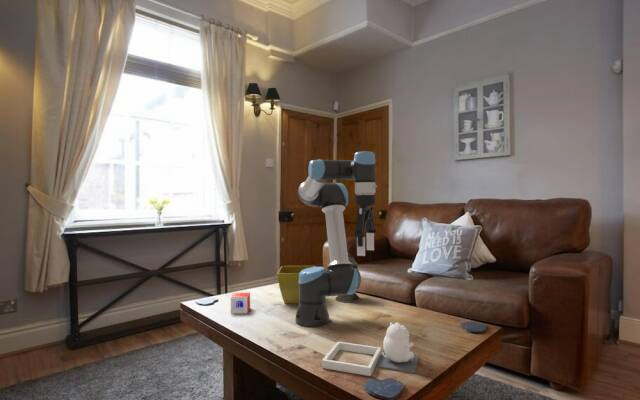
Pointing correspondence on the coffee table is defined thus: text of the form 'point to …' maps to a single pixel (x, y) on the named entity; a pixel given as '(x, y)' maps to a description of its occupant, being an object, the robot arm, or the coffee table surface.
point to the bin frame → (350, 367)
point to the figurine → (397, 344)
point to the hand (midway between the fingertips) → (366, 252)
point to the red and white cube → (240, 303)
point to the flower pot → (290, 282)
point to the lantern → (355, 297)
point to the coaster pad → (398, 364)
